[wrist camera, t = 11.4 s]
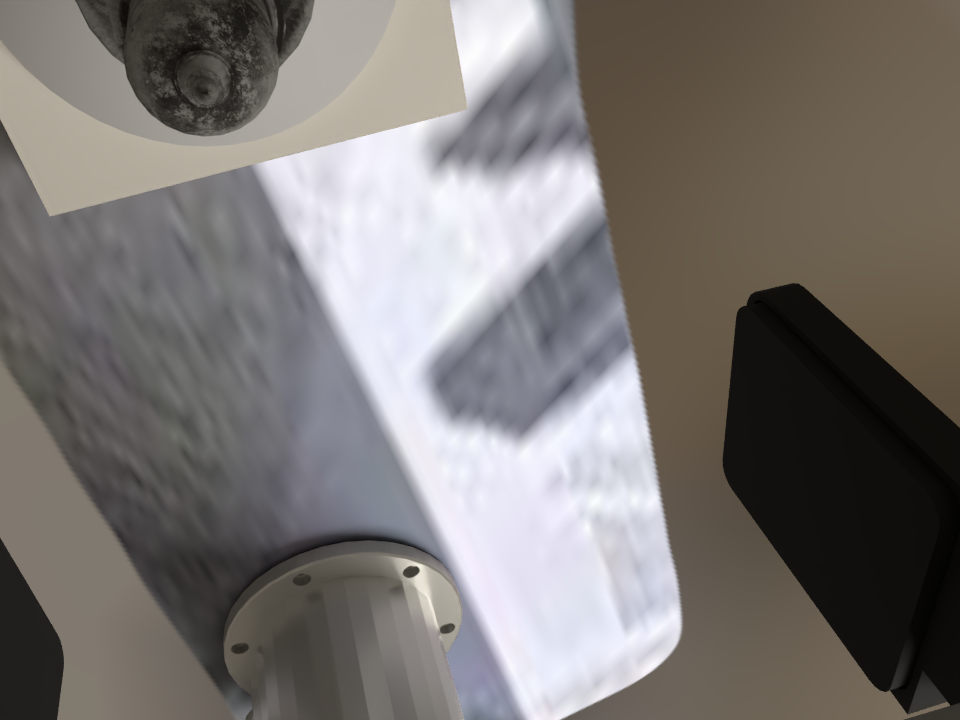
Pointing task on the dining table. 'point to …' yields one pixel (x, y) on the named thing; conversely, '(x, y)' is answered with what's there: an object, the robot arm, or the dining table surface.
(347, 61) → the scale
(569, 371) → the dining table surface
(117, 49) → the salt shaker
